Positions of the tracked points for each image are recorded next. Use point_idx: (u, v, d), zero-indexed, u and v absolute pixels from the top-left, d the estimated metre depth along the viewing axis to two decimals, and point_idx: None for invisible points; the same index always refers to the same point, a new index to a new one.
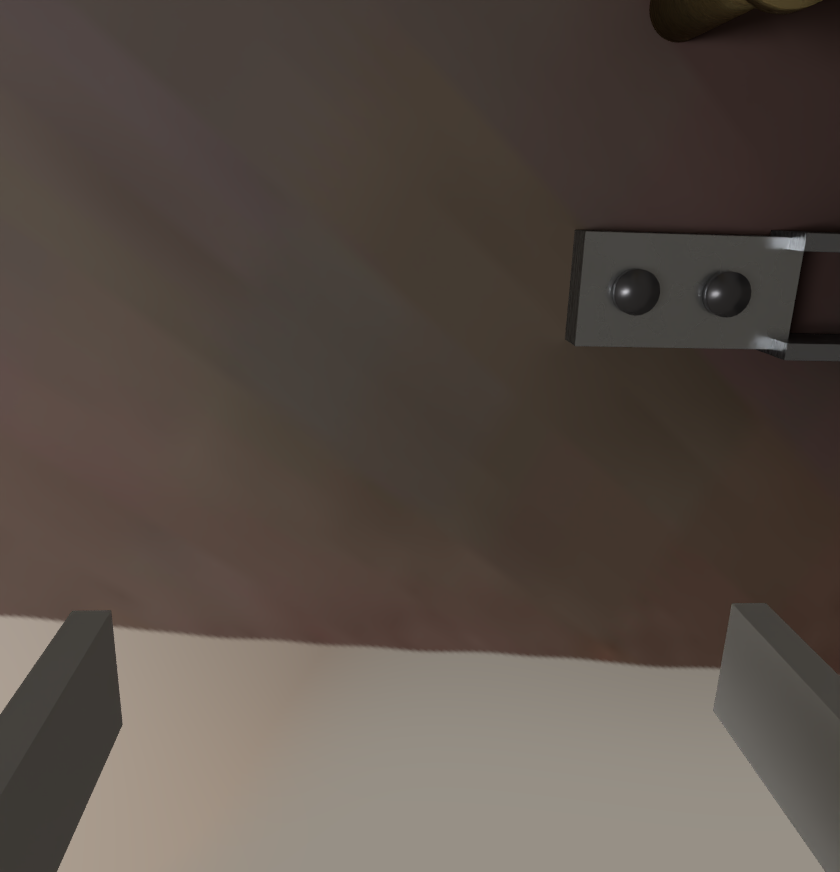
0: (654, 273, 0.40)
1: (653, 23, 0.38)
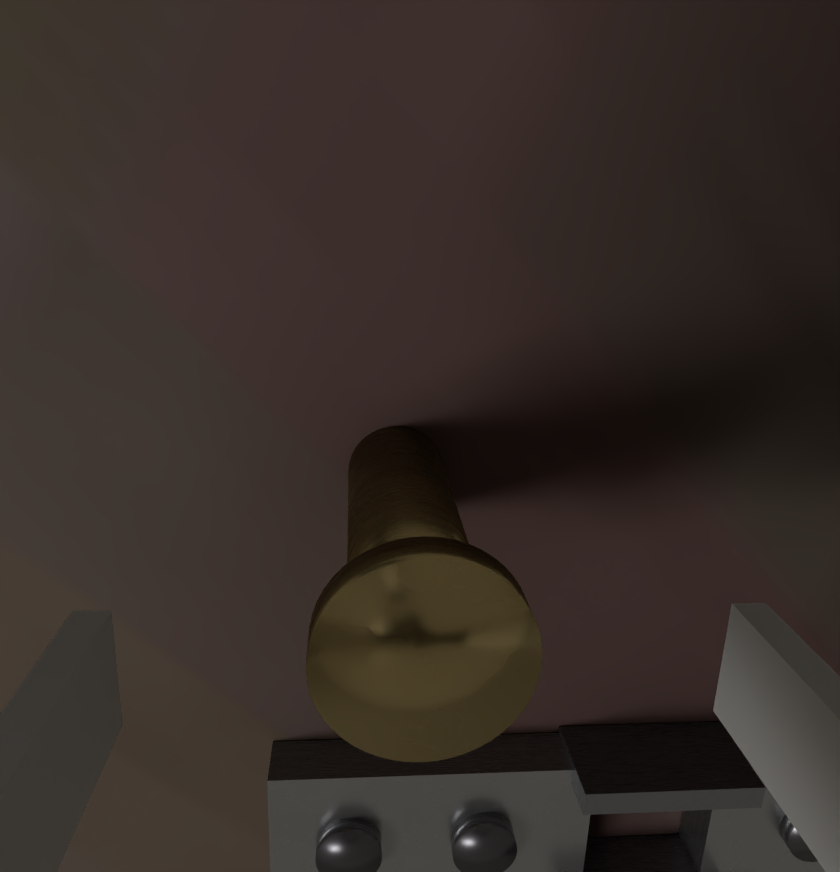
0: (377, 821, 0.28)
1: None
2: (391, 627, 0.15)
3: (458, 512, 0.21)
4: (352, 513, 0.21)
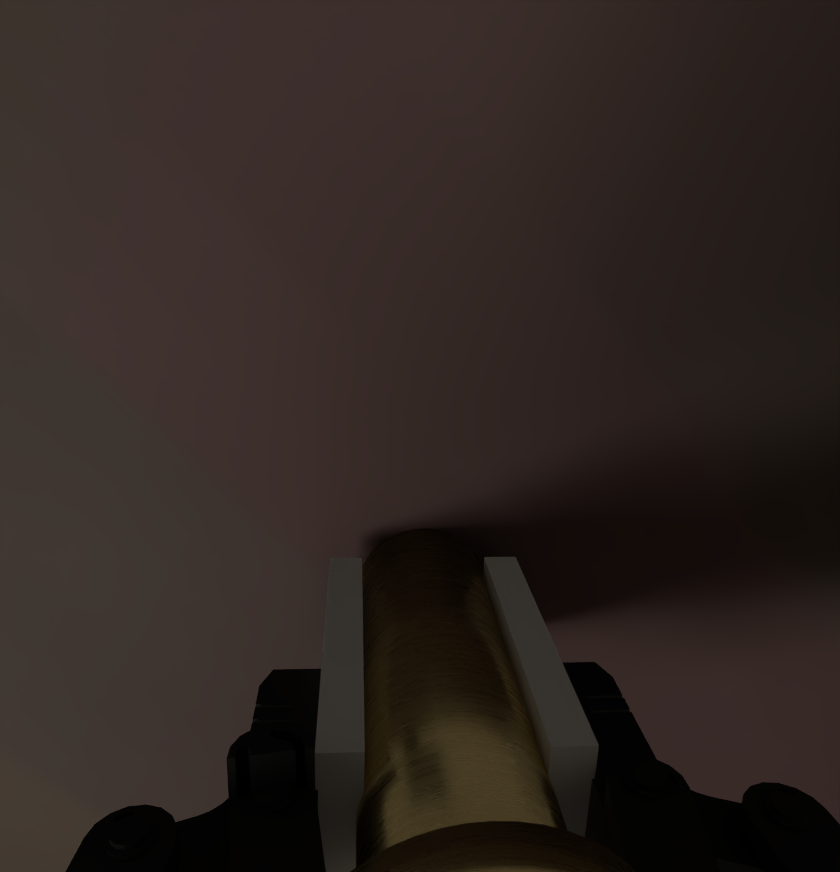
0: None
1: None
2: None
3: None
4: None
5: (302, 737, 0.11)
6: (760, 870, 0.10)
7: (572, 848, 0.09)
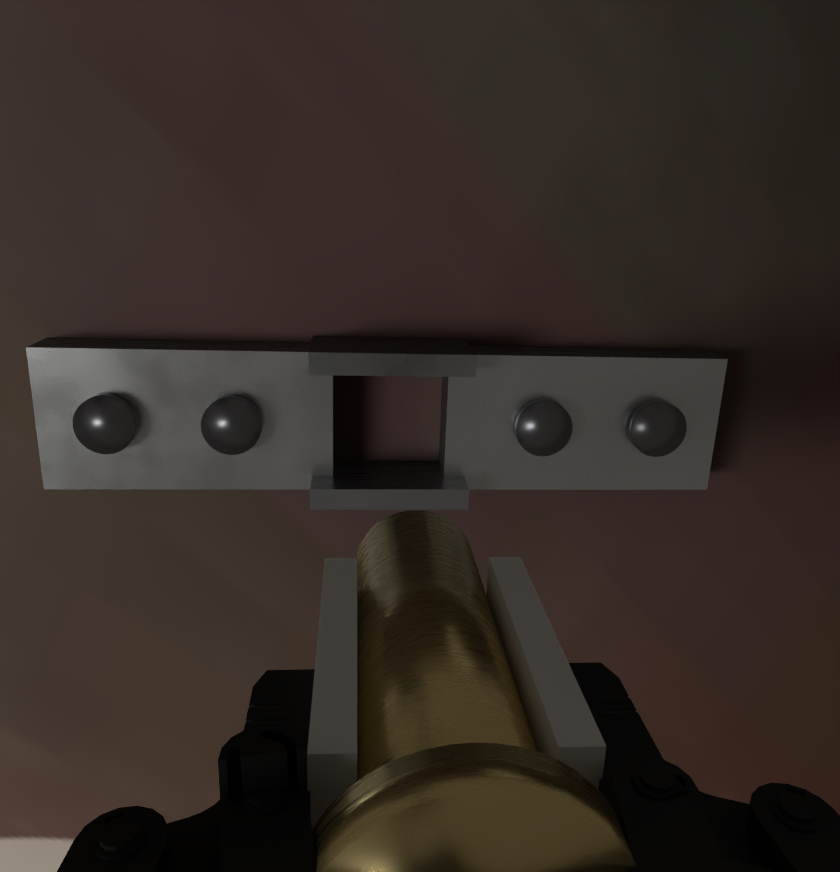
0: (133, 398, 0.31)
1: None
2: None
3: None
4: (360, 646, 0.15)
5: (294, 738, 0.11)
6: (768, 871, 0.10)
7: (542, 765, 0.10)
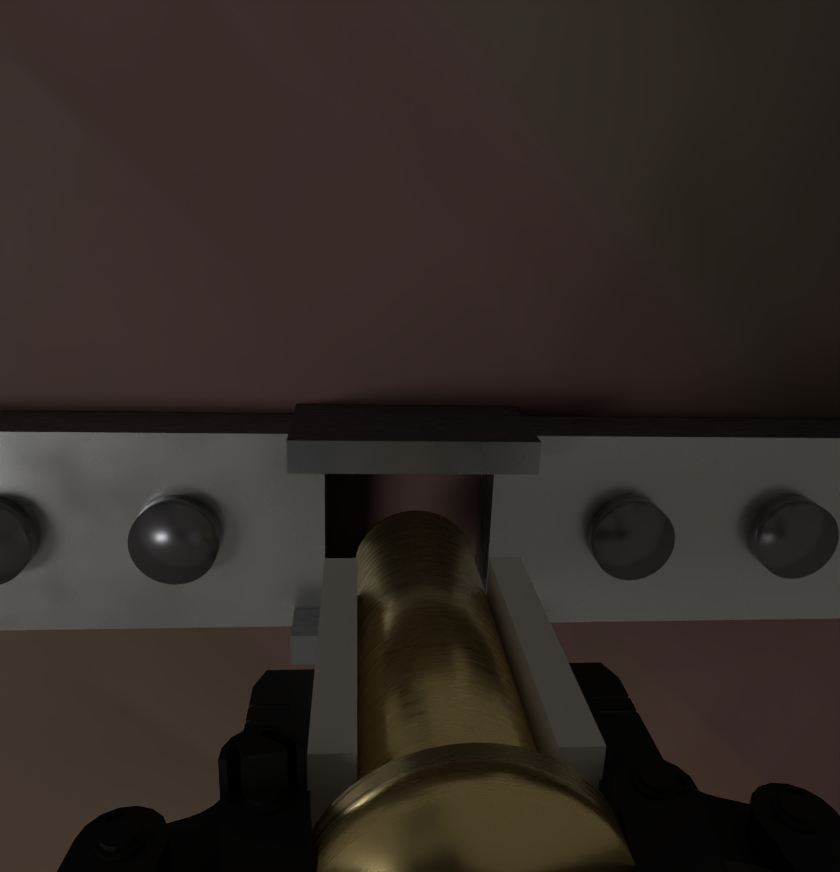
0: (28, 503, 0.21)
1: None
2: None
3: (501, 643, 0.16)
4: (360, 646, 0.15)
5: (294, 738, 0.11)
6: (768, 871, 0.10)
7: (542, 765, 0.10)
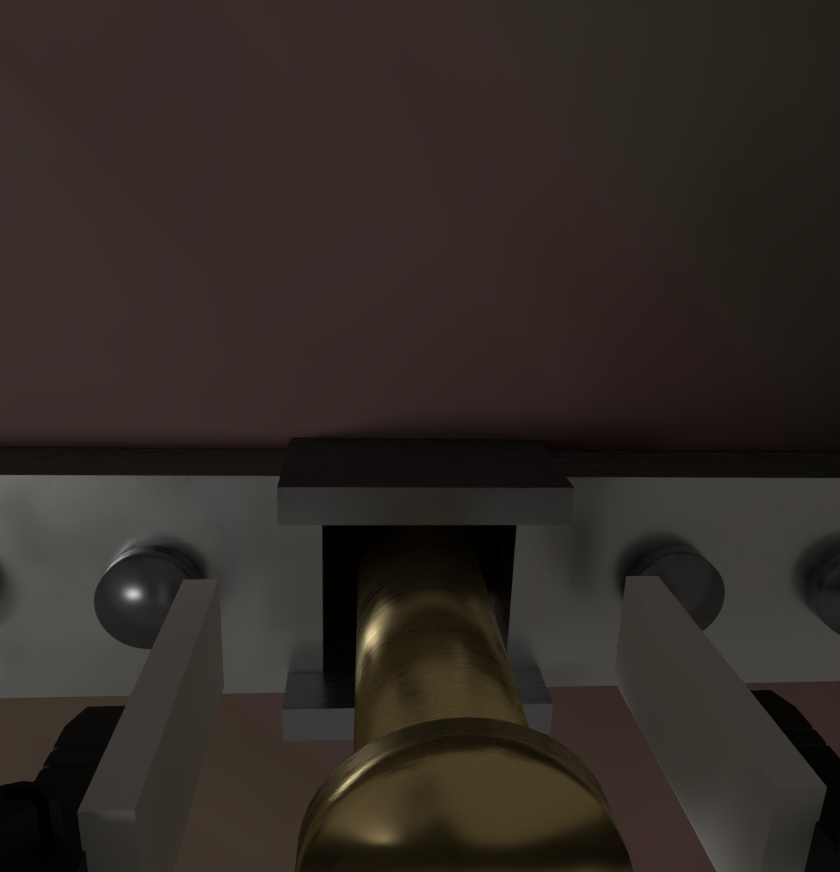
0: None
1: None
2: (416, 859, 0.10)
3: None
4: (362, 631, 0.16)
5: (43, 790, 0.10)
6: None
7: (530, 739, 0.11)
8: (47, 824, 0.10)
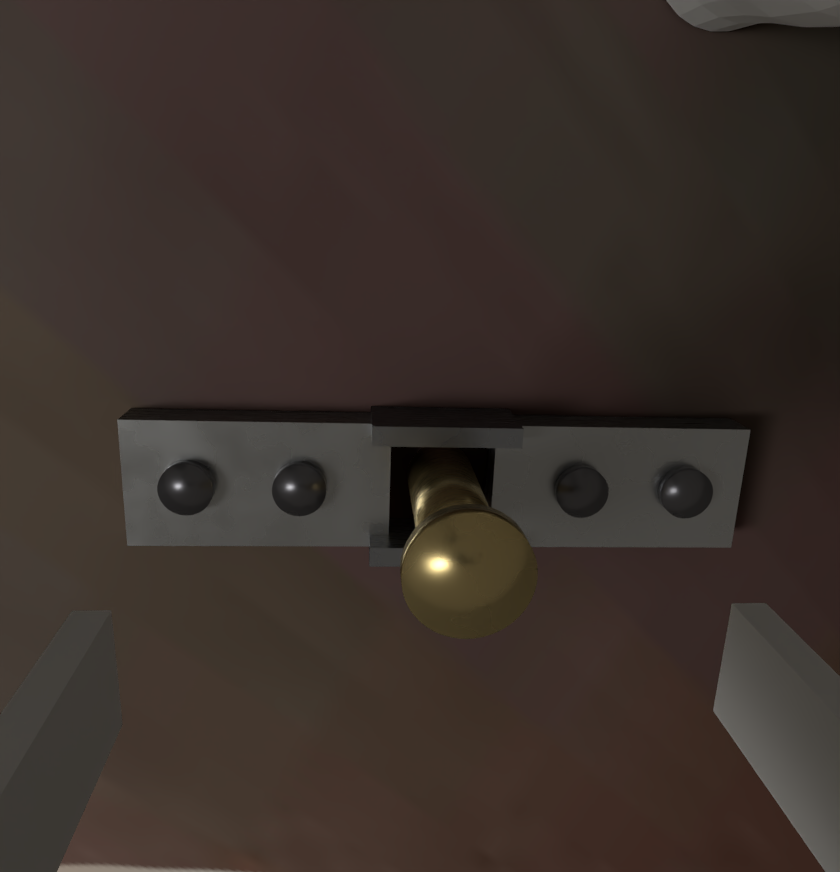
0: (211, 465, 0.34)
1: None
2: (451, 554, 0.26)
3: (485, 498, 0.32)
4: (416, 497, 0.32)
5: None
6: None
7: (496, 511, 0.27)
8: None
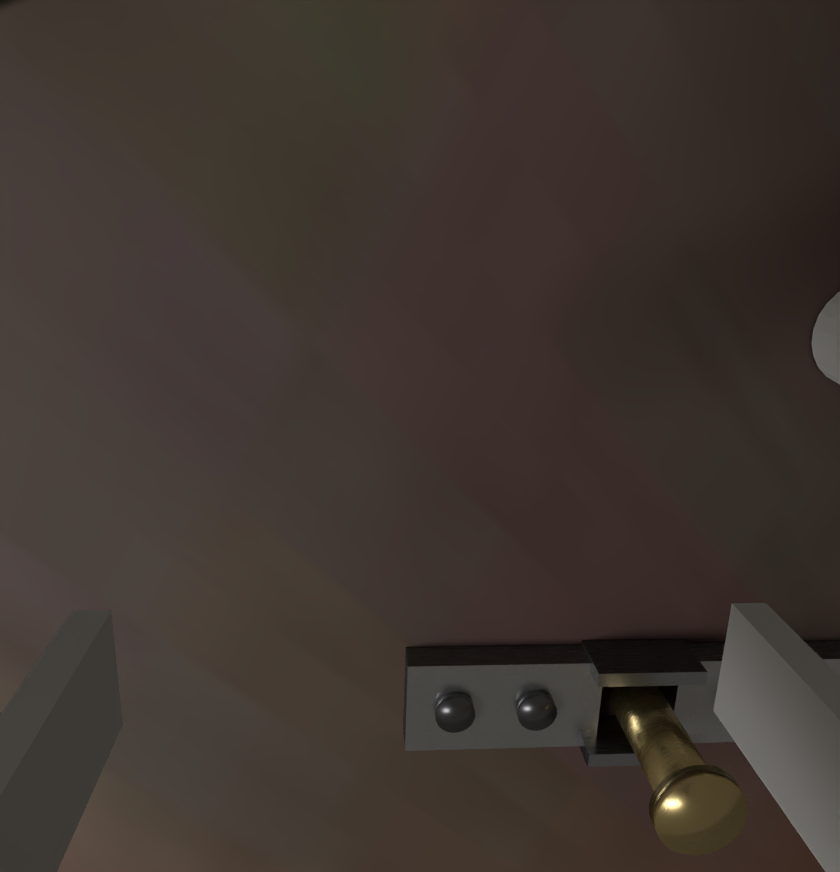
0: (471, 694, 0.46)
1: (607, 697, 0.49)
2: (691, 803, 0.38)
3: None
4: (633, 727, 0.44)
5: None
6: None
7: (719, 770, 0.38)
8: None
